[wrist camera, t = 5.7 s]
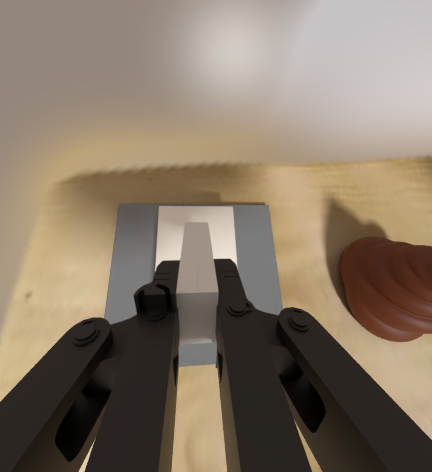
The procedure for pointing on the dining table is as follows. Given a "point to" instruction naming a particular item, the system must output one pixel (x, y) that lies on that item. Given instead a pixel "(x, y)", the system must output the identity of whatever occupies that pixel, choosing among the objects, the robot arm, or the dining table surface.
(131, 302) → the slate board
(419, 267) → the poop emoji
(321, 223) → the dining table surface
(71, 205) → the dining table surface
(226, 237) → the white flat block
